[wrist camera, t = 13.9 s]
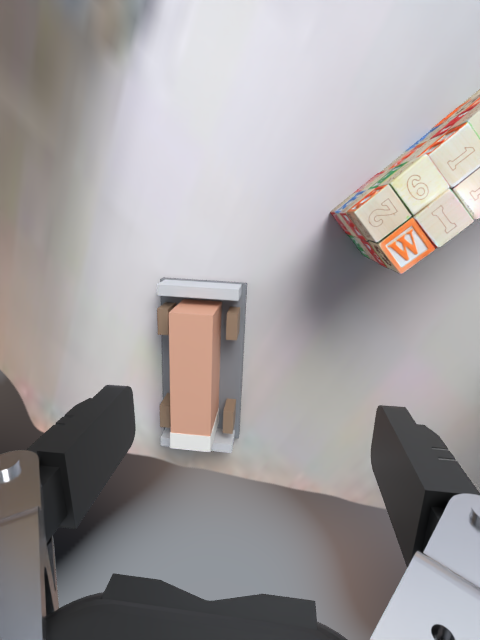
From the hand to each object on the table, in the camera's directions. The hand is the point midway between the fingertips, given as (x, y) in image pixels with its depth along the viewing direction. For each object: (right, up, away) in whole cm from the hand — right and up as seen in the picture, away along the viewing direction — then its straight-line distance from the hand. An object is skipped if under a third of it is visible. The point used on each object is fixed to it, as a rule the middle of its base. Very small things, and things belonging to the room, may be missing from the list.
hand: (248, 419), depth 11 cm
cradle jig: (-5, -2, +32) cm, 33 cm away
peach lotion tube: (-5, -2, +31) cm, 32 cm away
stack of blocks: (+19, +19, +24) cm, 36 cm away
